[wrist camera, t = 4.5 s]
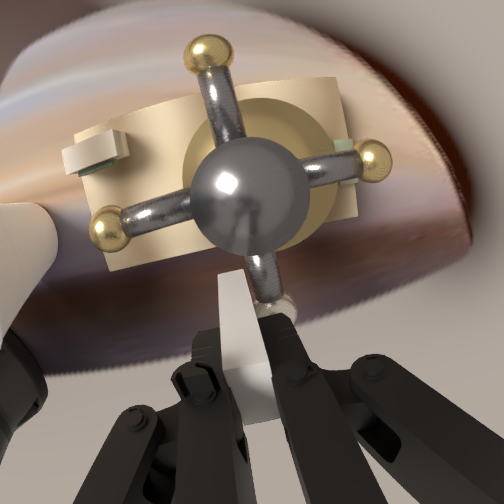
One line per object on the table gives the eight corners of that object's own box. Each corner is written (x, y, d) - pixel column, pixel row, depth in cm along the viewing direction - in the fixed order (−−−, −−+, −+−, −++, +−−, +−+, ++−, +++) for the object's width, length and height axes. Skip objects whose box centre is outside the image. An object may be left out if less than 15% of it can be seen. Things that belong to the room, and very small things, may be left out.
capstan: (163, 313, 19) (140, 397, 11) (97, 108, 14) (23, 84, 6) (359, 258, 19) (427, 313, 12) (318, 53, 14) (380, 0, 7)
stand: (120, 259, 20) (98, 286, 16) (88, 136, 17) (56, 133, 12) (343, 209, 21) (375, 224, 16) (322, 85, 18) (350, 68, 13)
